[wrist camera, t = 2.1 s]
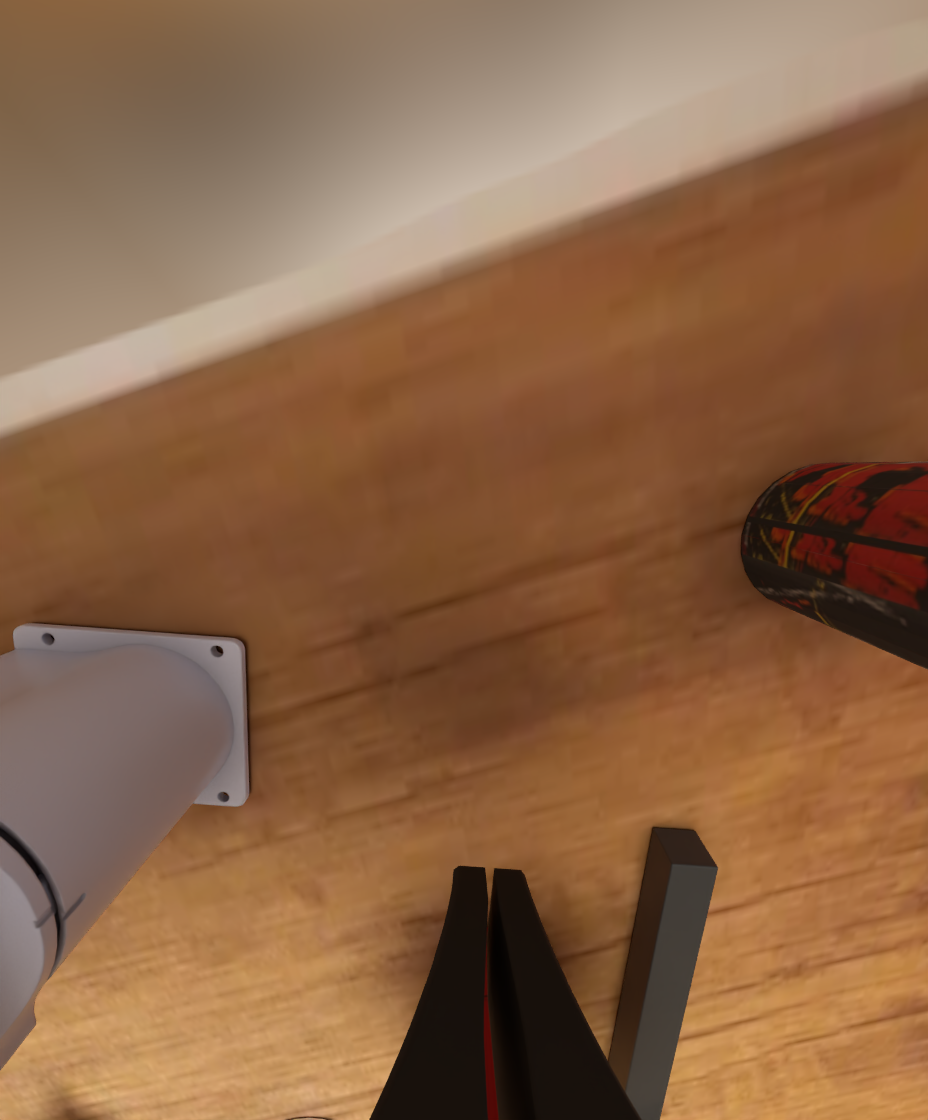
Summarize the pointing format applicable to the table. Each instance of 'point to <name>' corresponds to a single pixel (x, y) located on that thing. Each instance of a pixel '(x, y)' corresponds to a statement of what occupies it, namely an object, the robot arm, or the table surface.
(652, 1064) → the rail
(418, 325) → the table surface
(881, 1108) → the table surface
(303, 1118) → the cylindrical container
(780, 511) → the deodorant
